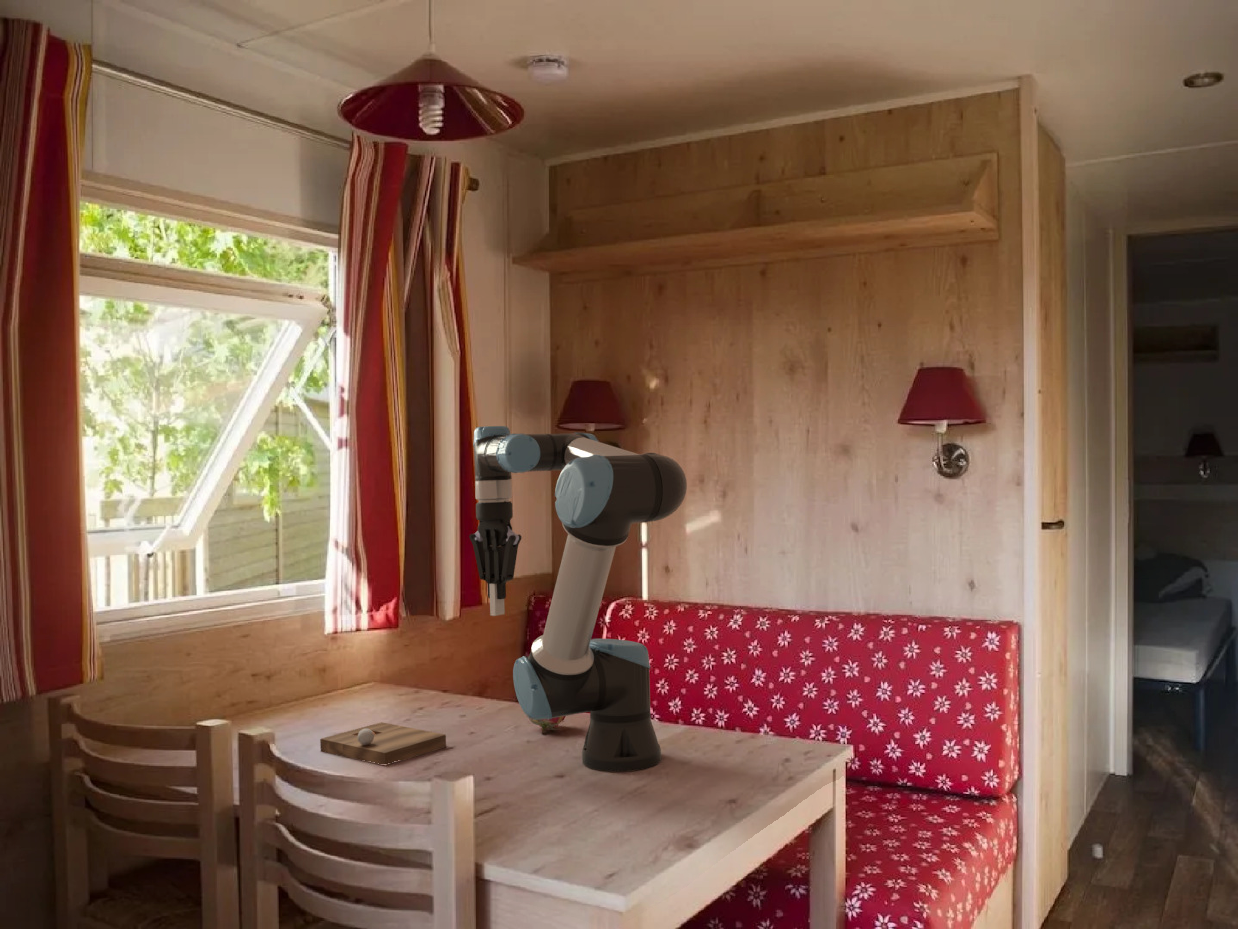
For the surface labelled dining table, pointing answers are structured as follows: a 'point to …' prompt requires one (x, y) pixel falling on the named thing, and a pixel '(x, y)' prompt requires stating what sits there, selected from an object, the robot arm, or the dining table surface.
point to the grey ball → (365, 736)
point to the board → (384, 743)
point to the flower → (548, 723)
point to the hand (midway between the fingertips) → (497, 614)
